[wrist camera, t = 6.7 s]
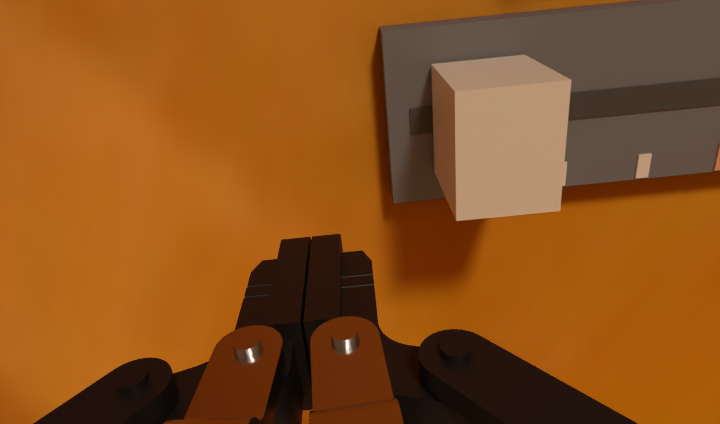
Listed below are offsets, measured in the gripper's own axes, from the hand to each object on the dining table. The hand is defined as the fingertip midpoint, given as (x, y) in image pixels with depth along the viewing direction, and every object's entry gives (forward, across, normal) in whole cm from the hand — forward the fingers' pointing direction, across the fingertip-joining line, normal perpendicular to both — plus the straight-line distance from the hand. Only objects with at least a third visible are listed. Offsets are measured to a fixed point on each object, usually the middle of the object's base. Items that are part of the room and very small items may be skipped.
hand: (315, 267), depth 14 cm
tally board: (+13, -15, 0) cm, 20 cm away
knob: (+11, -7, 0) cm, 13 cm away
